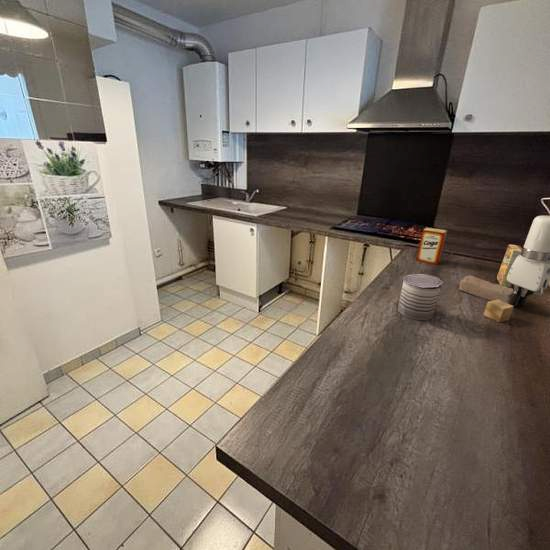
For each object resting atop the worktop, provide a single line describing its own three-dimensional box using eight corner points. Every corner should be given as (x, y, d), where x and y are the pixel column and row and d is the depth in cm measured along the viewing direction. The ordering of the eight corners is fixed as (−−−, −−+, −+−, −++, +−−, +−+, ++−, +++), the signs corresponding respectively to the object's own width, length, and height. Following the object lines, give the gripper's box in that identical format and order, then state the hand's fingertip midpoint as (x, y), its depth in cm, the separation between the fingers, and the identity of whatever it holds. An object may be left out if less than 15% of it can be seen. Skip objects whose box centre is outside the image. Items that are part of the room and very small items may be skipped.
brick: (514, 299, 107) (519, 288, 105) (508, 306, 102) (512, 294, 100) (465, 285, 119) (468, 274, 117) (457, 290, 114) (460, 279, 112)
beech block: (509, 319, 94) (514, 306, 92) (498, 322, 92) (503, 308, 90) (493, 312, 98) (498, 299, 96) (483, 315, 96) (487, 301, 94)
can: (427, 324, 90) (436, 289, 85) (391, 311, 97) (398, 278, 93) (438, 311, 98) (447, 278, 93) (404, 300, 105) (410, 269, 100)
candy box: (496, 277, 126) (507, 244, 120) (508, 279, 124) (520, 245, 118) (500, 285, 119) (512, 249, 113) (512, 287, 117) (526, 251, 111)
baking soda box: (416, 260, 145) (422, 229, 139) (419, 257, 150) (426, 226, 144) (436, 264, 140) (444, 232, 134) (439, 261, 145) (447, 229, 138)
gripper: (571, 261, 89) (548, 313, 96) (518, 247, 101) (501, 294, 109) (557, 263, 86) (534, 317, 93) (504, 249, 99) (488, 297, 106)
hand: (516, 304), depth 101 cm, fingers closed
